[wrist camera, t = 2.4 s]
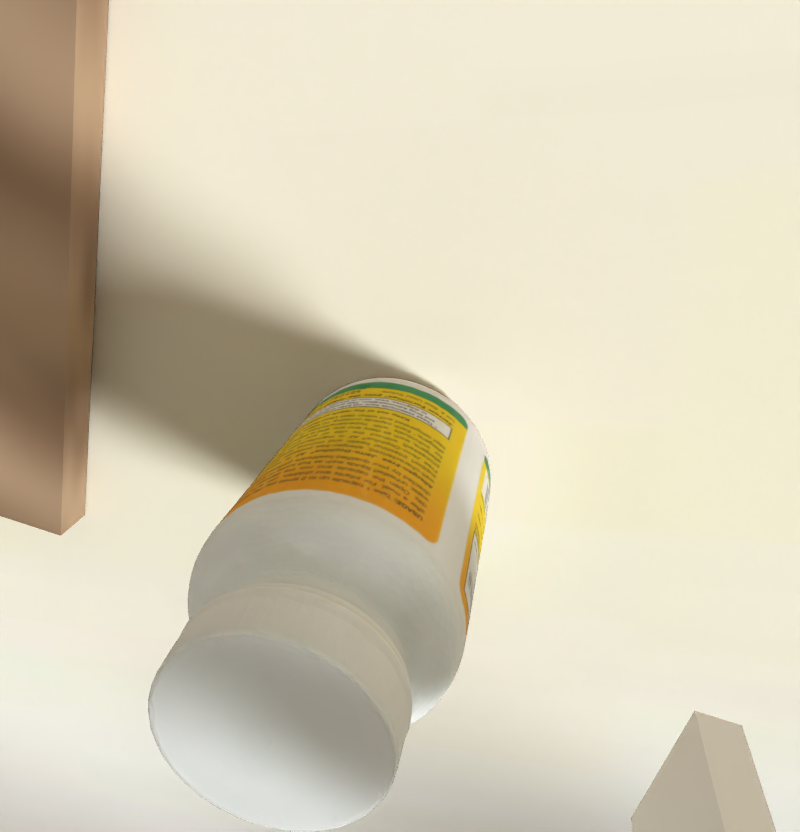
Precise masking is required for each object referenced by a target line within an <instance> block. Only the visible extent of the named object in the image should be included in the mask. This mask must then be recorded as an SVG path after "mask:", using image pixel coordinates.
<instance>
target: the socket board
mask: <svg viewBox="0 0 800 832" xmlns="http://www.w3.org/2000/svg"><path fill="white" fill-rule="evenodd" d="M108 6H109V0H0V516H2V517H5V518H8V519H12V520H15V521H18V522H21V523H24V524H27V525H30V526H33V527H36V528H39V529H42V530H45V531H48V532H52V533H55V534H58V535H62V534H63V533H64V532H66V531H67V530H68V529H69V528H70V527H71V526H72V525H74V524H75V523H76V522H77V521H78V520H79V519H81V518H82V517H83V516H84V515H85V497H86V476H87V454H88V433H89V412H90V390H91V369H92V348H93V326H94V305H95V284H96V262H97V241H98V220H99V198H100V177H101V156H102V134H103V113H104V92H105V70H106V49H107V28H108Z"/></svg>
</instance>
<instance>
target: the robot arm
mask: <svg viewBox="0 0 800 832" xmlns="http://www.w3.org/2000/svg"><path fill="white" fill-rule="evenodd" d="M631 820H632V828H633V832H776V830H775V827H774V824H773V821H772V818H771V814H770V811H769V808H768V805H767V802H766V799H765V796H764V793H763V790H762V786H761V783H760V780H759V777H758V774H757V771H756V768H755V765H754V762H753V758H752V755H751V752H750V749H749V746H748V743H747V740H746V737H745V734H744V730H743V727H742V726H741V725H738V724H735V723H732V722H729V721H725V720H722V719H719V718H716V717H713V716H709V715H706V714H703V713H700V712H697V711H694V713H693V715H692V716H691V718H690V720H689V721H688V723H687V725H686V726H685V728H684V730H683V731H682V733H681V735H680V736H679V738H678V740H677V742H676V743H675V745H674V747H673V748H672V750H671V752H670V753H669V755H668V757H667V758H666V760H665V762H664V763H663V765H662V767H661V769H660V770H659V772H658V774H657V775H656V777H655V779H654V780H653V782H652V784H651V785H650V787H649V789H648V790H647V792H646V794H645V796H644V797H643V799H642V801H641V802H640V804H639V806H638V807H637V809H636V811H635V812H634V814H633V816H632V817H631Z"/></svg>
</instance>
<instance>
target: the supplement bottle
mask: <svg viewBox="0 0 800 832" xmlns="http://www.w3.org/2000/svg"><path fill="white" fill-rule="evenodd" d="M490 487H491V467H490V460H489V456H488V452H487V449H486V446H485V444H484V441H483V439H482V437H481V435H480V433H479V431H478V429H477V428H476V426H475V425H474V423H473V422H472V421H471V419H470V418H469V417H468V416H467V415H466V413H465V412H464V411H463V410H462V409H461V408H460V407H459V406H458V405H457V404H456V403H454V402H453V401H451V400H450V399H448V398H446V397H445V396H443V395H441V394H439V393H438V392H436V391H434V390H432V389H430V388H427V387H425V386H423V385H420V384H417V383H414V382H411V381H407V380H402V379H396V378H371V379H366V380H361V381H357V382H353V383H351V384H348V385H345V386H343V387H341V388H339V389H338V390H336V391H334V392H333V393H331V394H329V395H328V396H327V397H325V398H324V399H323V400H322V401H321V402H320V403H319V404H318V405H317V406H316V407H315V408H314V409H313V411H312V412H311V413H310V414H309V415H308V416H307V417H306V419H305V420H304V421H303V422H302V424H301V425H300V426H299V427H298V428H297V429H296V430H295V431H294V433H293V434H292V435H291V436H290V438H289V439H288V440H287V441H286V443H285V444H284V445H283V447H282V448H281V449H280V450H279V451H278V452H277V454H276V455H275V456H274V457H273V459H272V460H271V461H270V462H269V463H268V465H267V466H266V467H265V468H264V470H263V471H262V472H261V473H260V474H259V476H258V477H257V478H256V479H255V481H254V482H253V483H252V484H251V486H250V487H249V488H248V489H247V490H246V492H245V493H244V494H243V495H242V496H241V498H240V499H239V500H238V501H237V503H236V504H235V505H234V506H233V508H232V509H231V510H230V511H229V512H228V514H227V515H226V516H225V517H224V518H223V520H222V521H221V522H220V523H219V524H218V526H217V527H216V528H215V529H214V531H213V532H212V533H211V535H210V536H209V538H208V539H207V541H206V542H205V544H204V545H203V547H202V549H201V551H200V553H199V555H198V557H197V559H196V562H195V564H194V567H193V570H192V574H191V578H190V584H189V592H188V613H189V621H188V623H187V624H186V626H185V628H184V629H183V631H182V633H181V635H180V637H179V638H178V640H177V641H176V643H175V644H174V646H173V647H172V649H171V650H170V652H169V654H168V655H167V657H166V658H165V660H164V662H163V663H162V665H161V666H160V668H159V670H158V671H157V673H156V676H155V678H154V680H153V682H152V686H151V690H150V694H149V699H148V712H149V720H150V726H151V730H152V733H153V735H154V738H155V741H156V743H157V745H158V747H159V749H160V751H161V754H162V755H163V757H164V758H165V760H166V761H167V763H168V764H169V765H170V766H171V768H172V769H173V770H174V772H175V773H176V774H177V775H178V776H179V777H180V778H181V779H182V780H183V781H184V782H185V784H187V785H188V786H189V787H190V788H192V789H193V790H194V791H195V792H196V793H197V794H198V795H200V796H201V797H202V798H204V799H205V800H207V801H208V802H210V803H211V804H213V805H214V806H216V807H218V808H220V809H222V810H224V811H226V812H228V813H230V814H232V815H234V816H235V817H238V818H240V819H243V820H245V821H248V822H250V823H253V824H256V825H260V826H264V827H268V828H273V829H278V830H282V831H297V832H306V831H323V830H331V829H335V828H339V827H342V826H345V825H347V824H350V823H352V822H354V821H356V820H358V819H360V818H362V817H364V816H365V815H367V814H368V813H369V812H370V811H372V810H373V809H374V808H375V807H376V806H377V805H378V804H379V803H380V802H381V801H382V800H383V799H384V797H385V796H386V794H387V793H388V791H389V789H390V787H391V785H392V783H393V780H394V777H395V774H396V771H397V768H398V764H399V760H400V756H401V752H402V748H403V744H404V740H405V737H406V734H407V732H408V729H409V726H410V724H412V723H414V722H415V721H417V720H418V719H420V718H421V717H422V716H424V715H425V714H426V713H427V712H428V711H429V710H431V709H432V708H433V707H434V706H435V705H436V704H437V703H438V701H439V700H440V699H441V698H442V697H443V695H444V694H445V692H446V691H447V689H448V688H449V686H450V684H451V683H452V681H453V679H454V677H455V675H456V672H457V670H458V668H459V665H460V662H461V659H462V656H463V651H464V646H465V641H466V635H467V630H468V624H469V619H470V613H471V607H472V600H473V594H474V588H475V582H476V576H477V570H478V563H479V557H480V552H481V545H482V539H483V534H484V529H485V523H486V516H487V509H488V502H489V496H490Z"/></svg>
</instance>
